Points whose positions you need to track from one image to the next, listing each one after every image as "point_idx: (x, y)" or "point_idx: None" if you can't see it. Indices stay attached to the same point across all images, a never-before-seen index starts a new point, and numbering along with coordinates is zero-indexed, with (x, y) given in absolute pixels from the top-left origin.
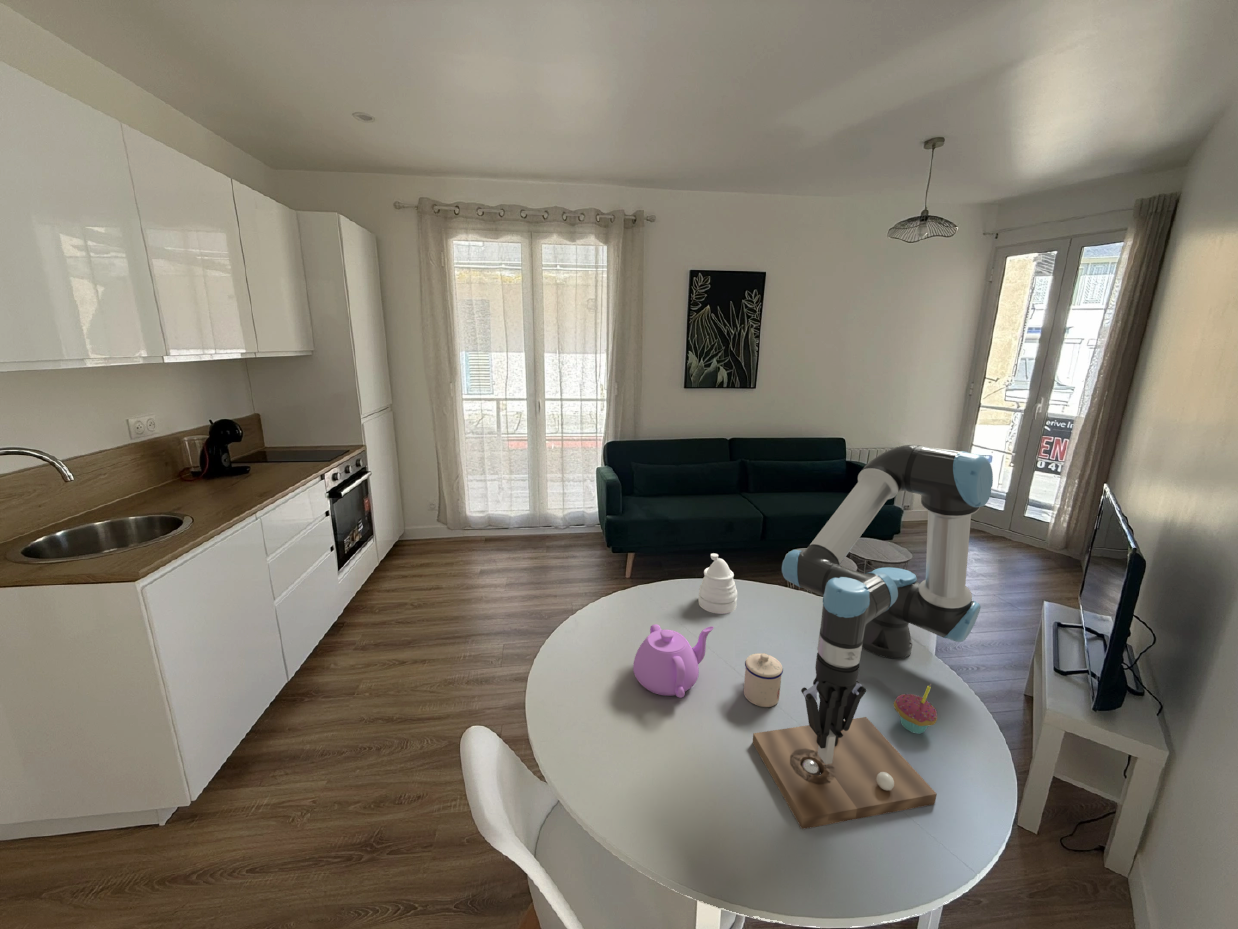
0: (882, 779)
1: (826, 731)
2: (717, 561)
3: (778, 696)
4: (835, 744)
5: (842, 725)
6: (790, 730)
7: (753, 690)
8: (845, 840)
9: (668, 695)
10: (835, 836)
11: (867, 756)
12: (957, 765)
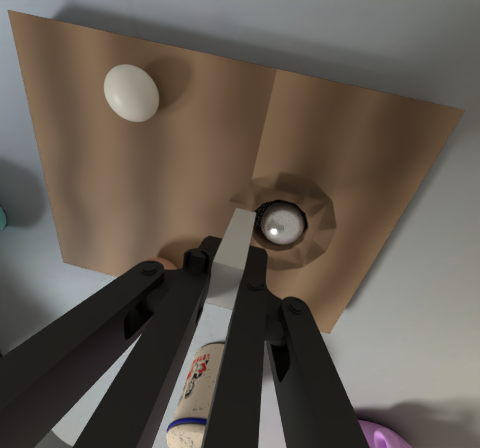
0: (140, 89)
1: (254, 298)
2: None
3: (204, 357)
4: (210, 240)
5: (158, 288)
6: None
7: None
8: (359, 29)
9: (384, 427)
10: (373, 53)
11: (125, 189)
12: None
